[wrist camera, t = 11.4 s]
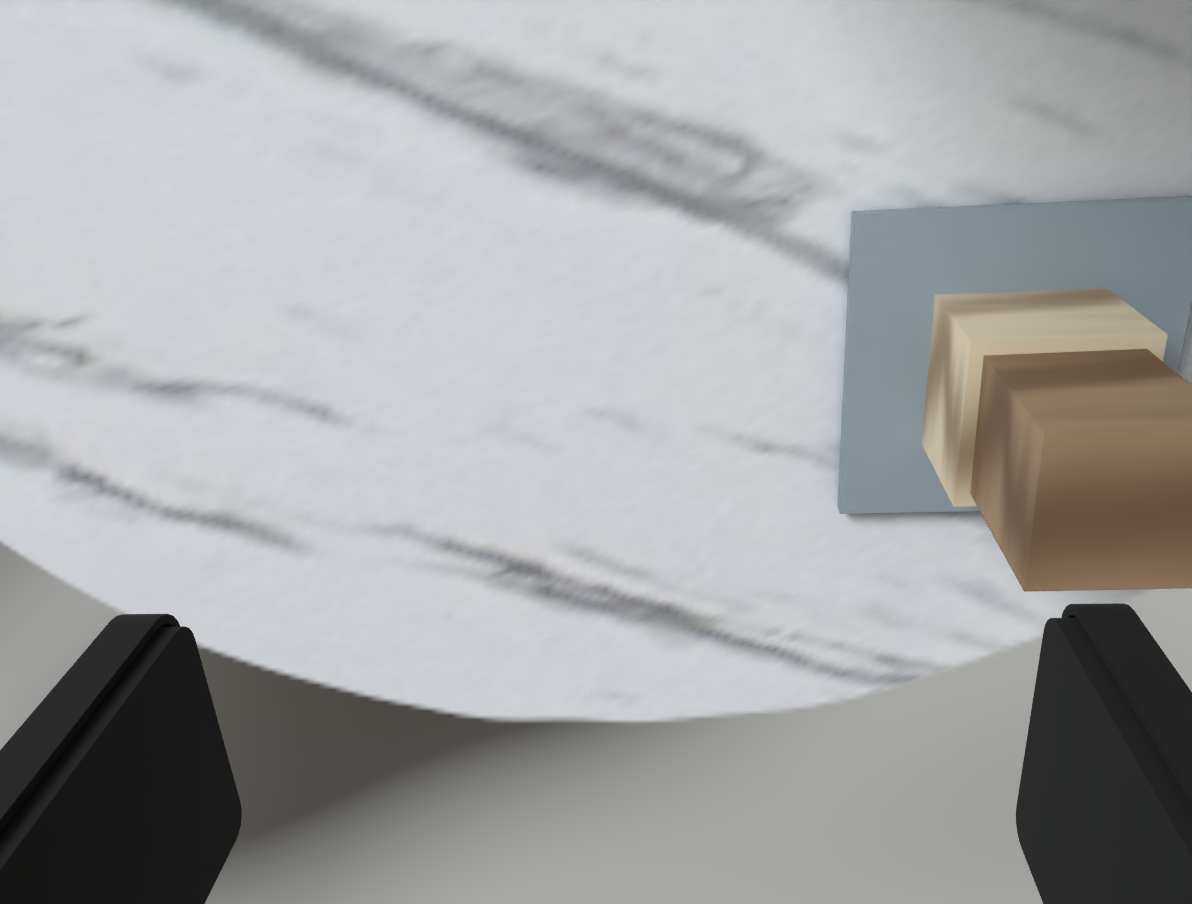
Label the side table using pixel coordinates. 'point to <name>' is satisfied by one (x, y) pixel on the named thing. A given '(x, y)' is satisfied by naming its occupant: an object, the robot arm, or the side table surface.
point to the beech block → (1010, 328)
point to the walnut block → (1086, 469)
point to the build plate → (980, 265)
